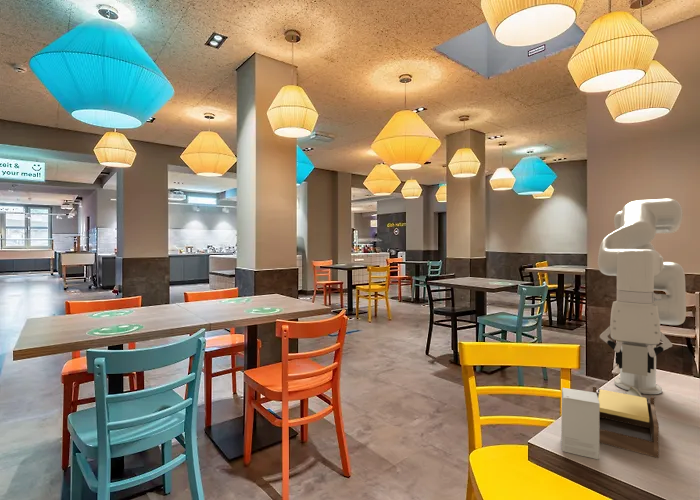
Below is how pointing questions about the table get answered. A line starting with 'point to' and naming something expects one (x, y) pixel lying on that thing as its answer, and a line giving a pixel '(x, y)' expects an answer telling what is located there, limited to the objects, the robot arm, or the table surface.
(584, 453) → the supplement box
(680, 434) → the table surface
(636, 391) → the ceramic fragment
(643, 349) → the plain grey carton
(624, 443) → the trapdoor frame
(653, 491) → the table surface
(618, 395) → the trapdoor
